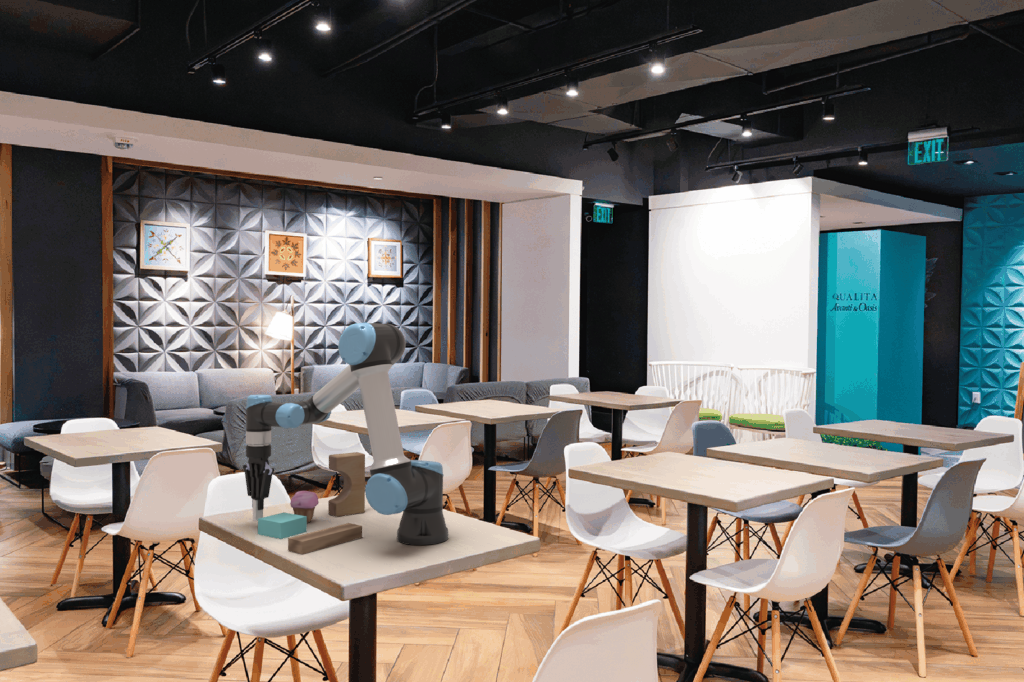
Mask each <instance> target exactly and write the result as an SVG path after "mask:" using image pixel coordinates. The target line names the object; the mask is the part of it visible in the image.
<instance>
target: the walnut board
mask: <svg viewBox="0 0 1024 682" xmlns="http://www.w3.org/2000/svg"><path fill="white" fill-rule="evenodd" d="M362 538H363V525H360V524H355V523H352V522H351V523H350V522H346V523H343V524H338V525H335V526H331V527H326V528H322V529H319V530H315V531H311V532H305V533H301V534H298V535H294V536H291V537H287V551H288V550H289V551H288V552H291V551H292V553H296V554H299V555H305V554H309V553H312V552H315V551H319V550H322V549H327V548H331V547H334V546H337V545H342V544H345V543H347V542H351V541H355V540H359V539H362Z"/></svg>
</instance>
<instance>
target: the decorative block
mask: <svg viewBox="0 0 1024 682" xmlns="http://www.w3.org/2000/svg"><path fill="white" fill-rule="evenodd" d="M328 470H330V471H333V472H338V473H339V474H340V475H341V477H342V478H343V487H342V489H341V491H340V493H339V494H338V495H337V496H335V497H334V498H331V499H329V500H328V502H327V503H328V505H327V506H328V507H327V508H328V509H327V511H328V515H329V514H330V516H333V517H335V518H339V517H344V516H345V515H346V516H351V515H352V514H353V515H359V514H364V513H365V512H366V509H365V508H366V505H365V504H366V503H365V502H366V500H365V499H366V494H365V487H366V454H365V453H363V452H358V451H356V452H355V451H354V452H353V451H352V452H344V453H343V452H342V453H334V454H333V453H332V454H329V455H328ZM346 516H345V517H346Z"/></svg>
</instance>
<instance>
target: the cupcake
mask: <svg viewBox="0 0 1024 682" xmlns="http://www.w3.org/2000/svg"><path fill="white" fill-rule="evenodd" d="M289 503H290V507H291V508H292V510H293V514H296V515H301V516H307V524H308V523H309V522H311V521H312V520H313V519H314V514H315V509H316V506H318V505H319V503H320V502H319V497H318V495H317V493H316V492H314V491H309V490H308V491H307V490H298V491H296V492H295V494H294V495H293V496H292V497H291V500H290V502H289Z"/></svg>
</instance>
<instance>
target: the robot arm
mask: <svg viewBox="0 0 1024 682" xmlns="http://www.w3.org/2000/svg"><path fill="white" fill-rule="evenodd" d="M337 345H338V346H337V347H338V348H337V349H338V353H339V356H340V358H341V360H342V361H344V363H346V364H348V365H347V366H346V367H345V368H344V369H343V370H342V371H340V372H339V373H338V374H337V375H335V376H334V377H333V378H331V380H329V381H328V382H327V383H326V384H325V385H323V386H322V388H320V389H319V390H318V391H316V393H314V394H313V395H312V396H311V397H309V398H308V399H306V400H299V401H290V402H274V401H273V398H272V395H270V394H250V395H248V396H247V397H246V405H245V411H246V412H245V413H246V414H245V415H246V418H245V421H246V422H245V424H246V425H245V427H246V429H245V443H246V446H245V457H246V458H248V459H247V460H248V461H247V464H243V465H242V468H243V469H242V470H243V471H244V476H245V485H246V492H247V497H250V498H251V500H252V501H251V502H252V505H251V507H252V521H254V522H258V519H259V518H263V517H264V508H265V506H264V505H265V499H267V498H269V497H270V490H271V484H272V479H273V475H274V472H275V468H274V467H270V462H269V458H270V457H271V456H272V445H271V443H272V428H273V427H274V428H282V429H296V428H299V427H300V426H303V425H310V424H311V425H312V424H320V423H323V422H326V421H327V420H329V418H331V417H330V416H331V414H332V411H333V410H334V409H335V408H336V407H338V406H339V405H341V404H342V403H343V402H345V400H347V399H348V398H349V397H350V396H351V395H353V394H354V393H355V392H356V391H357V390H359V391H360V396H361V401H362V402H361V403H362V407H363V412H364V416H365V417H364V418H365V422H366V427H367V428H366V429H367V433H368V437H369V438H368V439H369V443H370V449H371V455H372V460H373V463H372V464H371V466H370V467H369V474H370V478H368V480H367V481H366V482H367V484H365V499H366V500H367V502H368V504H369V506H370V508H372V510H374V511H376V512H377V514H380V515H382V516H383V515H384V516H390V515H398V514H401V513H402V516H401V519H400V522H399V525H398V529H397V531H396V540H397V541H398V542H399V543H402V544H404V545H405V544H406V545H410V546H413V545H414V546H427V545H428V546H429V545H436V544H441V543H444V542H446V541H447V540H449V529H448V527H447V523H446V521H445V516H444V512H443V509H444V508H443V503H444V502H443V501H444V500H443V498H444V497H443V496H444V470H443V469H444V467H443V464H442V463H441V462H439V461H433V460H432V461H431V460H420V459H410V458H408V457H407V456H406V455H405V454H404V448H403V443H402V438H401V432H400V427H399V422H398V418H397V417H398V416H397V412H396V406H395V401H394V396H393V391H392V386H391V381H390V375H389V371H390V370H391V369H392V367H393V366H394V365H395V364H396V363H397V362H398V361H399V360H400V359H401V358H402V357H403V355H404V353H405V350H406V345H407V344H406V338H405V335H404V333H403V332H402V331H401V329H399V327H397V326H395V325H393V324H390V323H377V322H373V323H371V322H366V321H365V322H358V323H353V324H352V323H351V324H350V325H349V326H347V327H346V328H345V329H344V330H343V331H342V334H341V335H340V336H339V340H338V344H337Z"/></svg>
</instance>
